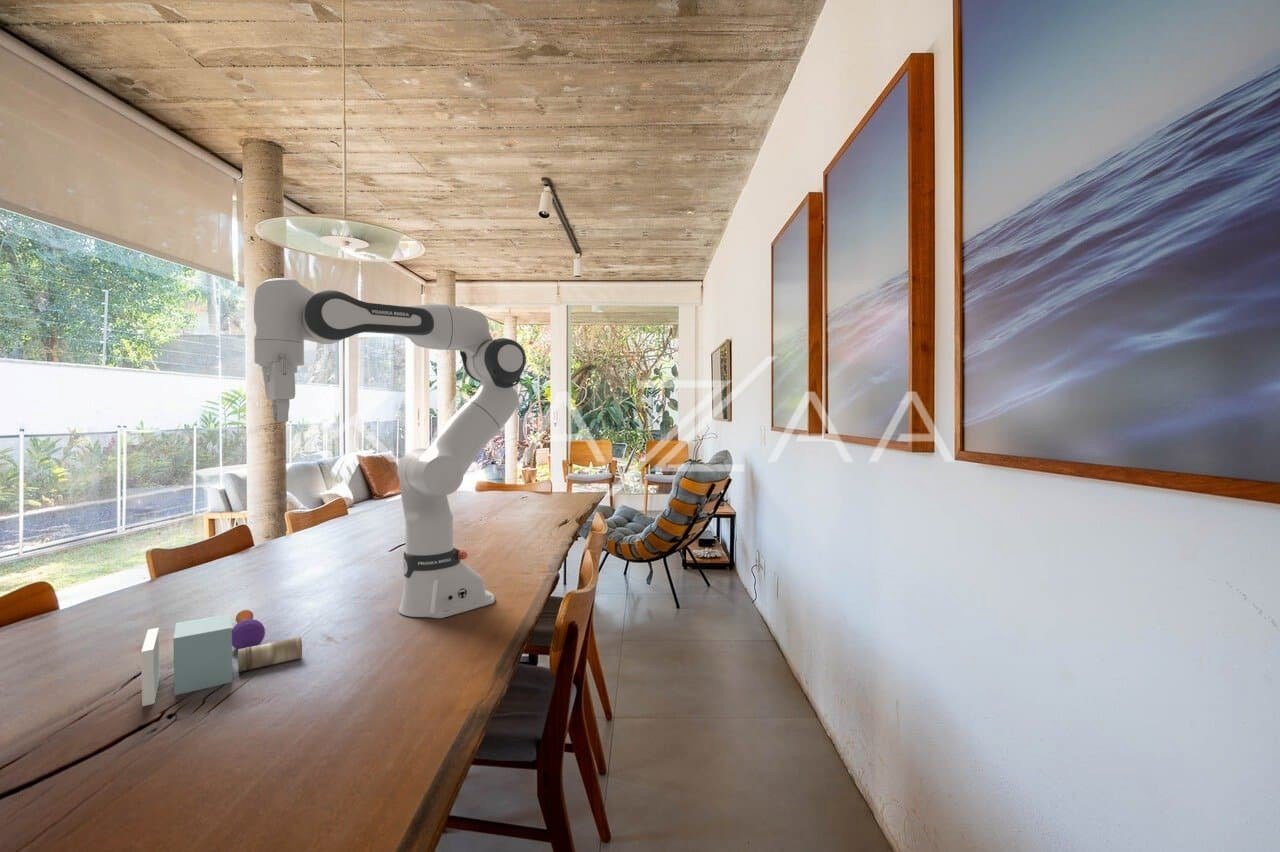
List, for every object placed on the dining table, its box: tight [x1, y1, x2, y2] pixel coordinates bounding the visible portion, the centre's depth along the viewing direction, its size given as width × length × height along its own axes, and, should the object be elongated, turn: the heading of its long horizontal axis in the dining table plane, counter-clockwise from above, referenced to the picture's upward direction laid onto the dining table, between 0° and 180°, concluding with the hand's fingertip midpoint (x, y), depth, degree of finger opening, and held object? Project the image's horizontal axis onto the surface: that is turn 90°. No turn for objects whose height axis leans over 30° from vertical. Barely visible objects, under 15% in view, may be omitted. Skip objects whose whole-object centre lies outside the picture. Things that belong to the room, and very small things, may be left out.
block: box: [172, 613, 233, 696], centre depth 102 cm, size 8×9×10 cm
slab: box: [140, 627, 161, 707], centre depth 98 cm, size 2×12×9 cm, turn 37°
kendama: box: [232, 609, 266, 651], centre depth 121 cm, size 6×6×20 cm
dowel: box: [237, 636, 303, 673], centre depth 108 cm, size 10×4×4 cm, turn 127°
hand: (280, 421), depth 120 cm, fingers open, 8 cm apart
